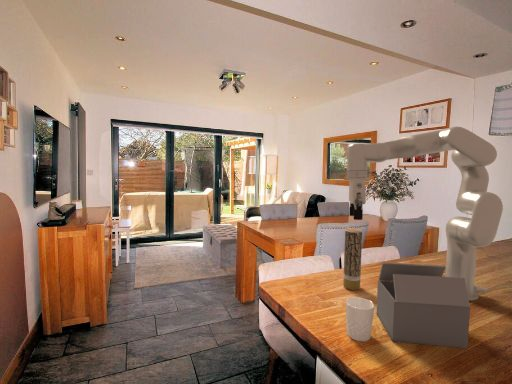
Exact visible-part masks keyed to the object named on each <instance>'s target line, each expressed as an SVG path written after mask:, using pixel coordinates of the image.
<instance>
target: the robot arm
mask: <svg viewBox="0 0 512 384" xmlns="http://www.w3.org/2000/svg"><path fill="white" fill-rule="evenodd" d="M447 151H452V152H451V155H450V156H451V160H452V162H453V163H454V165H455V166H456V167H457V168H458V169H459V171H460V174H461V180H460V182H461V183H460V186H459V188H458V189H459V190H458V194H457V198H456V201H455V207H456V209H457V210H458V211H459V212H461V213H462V214H466V215H469V216H471V218H470V217H466V216H454V217H452V218H450V219H449V220H447V223H446V224H445V236H446V257H445V258H446V261H445V276H444V277H455V278H465V283H466V288H467V293H468V299H469V302H470V301H471V302H474V301H477V300H478V299H479V293H485V294H486V293H488V292H489V289H488V288H487V287H481V286H479V285H475V278H476V277H475V276H476V262H477V248H476V247H481V248H484V247H488V246H489V245H491V244H492V243H493V242H494V240H495V238H496V236H497V232H498V229H499V225H500V222H501V218H502V214H503V209H504V205H503V201H502V199H501V197H500V196H498V195H497V194H496V193H494V192H490V191H489V192H488V187H489V182H490V176H489V172H488V169H487V168H486V167H487V166H490V165H492V164H493V163H494V162H495V161H496V160H497V156H498V153H497V152H498V151H497V149H496V148H495V146H494V145H493V144H492V143H490V142H489V141H487V140H485V139H484V138H483V137H481V136H479V135H477V134H476V133H475V132H472V131H470V130H469V129H467V128H464V127H462V126H453V127H448V128H443V129H439V130H433V131H427V132H424V133H418V134H413V135H412V134H411V135H408V136H405V137H400V138H397V139H394V140H390V141H385V142H376V143H350V144H349V145H348V147H347V158H346V159H347V161H346V164H347V167H346V180H347V179H349V182H348V183H349V185H348V201H349V207H348V210H349V213H348V214H349V216H350V217H353V220H355V221H362V220H363V215H364V214H363V213H364V210H363V209H364V207H363V205H365V204H366V201H367V200H366V190H367V189H366V180H367V179H368V163H369V164H375V163H383V162H386V161H390V160H396V159H408V158H415V157H416V158H417V157H421V156H426V155H432V154H436V153H437V154H438V153H442V152H443V153H444V152H447Z"/></svg>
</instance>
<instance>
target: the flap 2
mask: <svg viewBox="0 0 512 384" xmlns="http://www.w3.org/2000/svg"><path fill="white" fill-rule="evenodd" d="M393 279H394V289H395V299H396V302H408V303H423V304H437V305H452V306H466V307H470V308H471V305H470V304H471V303H470V301H469V299H468V293H467V288H466V283H465V278H455V277H445V276H442V277H437V276H420V275H402V274H393Z"/></svg>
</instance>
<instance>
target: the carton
mask: <svg viewBox="0 0 512 384" xmlns="http://www.w3.org/2000/svg"><path fill="white" fill-rule="evenodd" d="M376 291H377V292H376V317H377V318H378V320H379V321H380V322H381V324H382V325H381V326H383V328H384V329H385V332H386V333H387V335H388V336H389V339H390V340H391V342H394V343H402V344H403V343H404V344H414V345H426V346H438V347H447V348H450V347H451V348H459V349H460V348H462V349H468V348H469V347H468V344H469V329H470V319H471V318H470V315H471V306H470V307H466V306H452V305H437V304H423V303H408V302H396V299H395V289H394V281H382V280H379V279H378V280H377V290H376Z"/></svg>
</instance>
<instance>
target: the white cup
mask: <svg viewBox="0 0 512 384" xmlns="http://www.w3.org/2000/svg"><path fill="white" fill-rule="evenodd" d="M345 300H346V301H345V317H346V319H345V321H346V322H345V323H346V334H347V336H348V337H349V338H351V339H352V340H354V341H357V342H368V341H369V340H370V339H371V338H372V337H371V336H372V330H373V321H374V310H375V309H374V308H375V304H374V302H373V301H371V300H370V299H366V298H364V297H359V296H358V297H356V296H355V297H353V296H352V297H348V298H346V299H345Z"/></svg>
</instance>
